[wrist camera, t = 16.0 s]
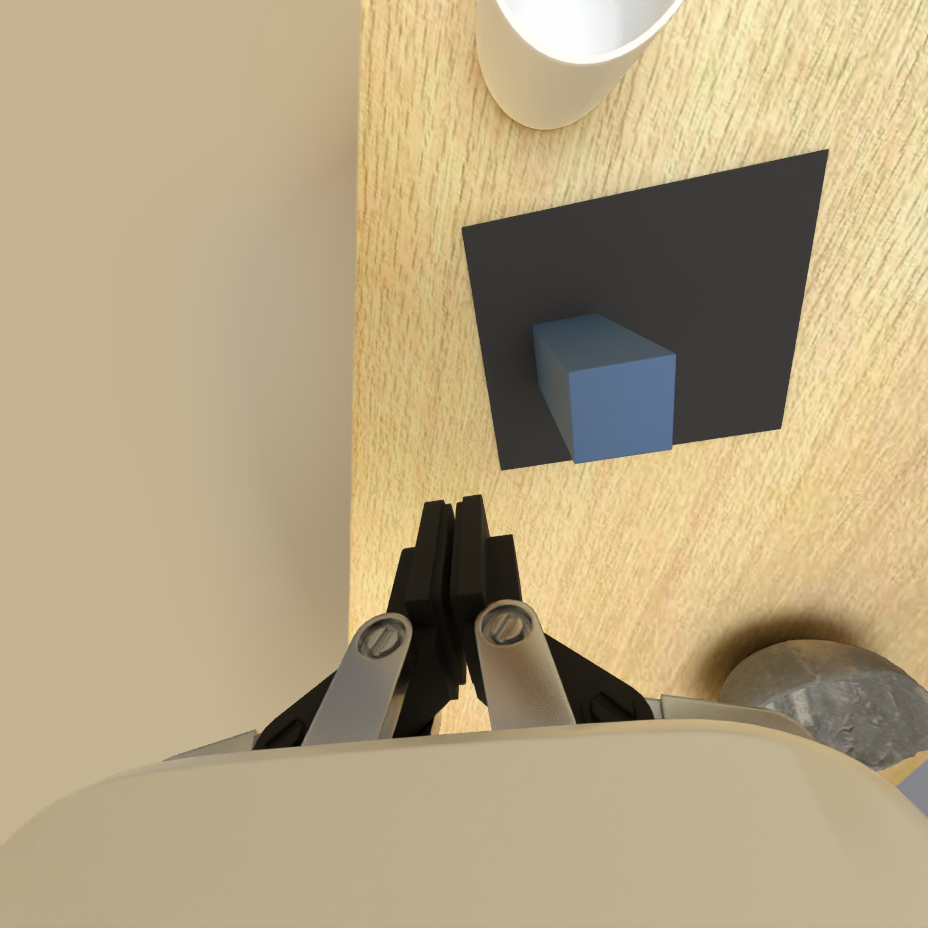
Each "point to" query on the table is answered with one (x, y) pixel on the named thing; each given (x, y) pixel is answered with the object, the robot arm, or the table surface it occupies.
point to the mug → (562, 52)
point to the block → (605, 387)
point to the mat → (655, 295)
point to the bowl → (837, 698)
